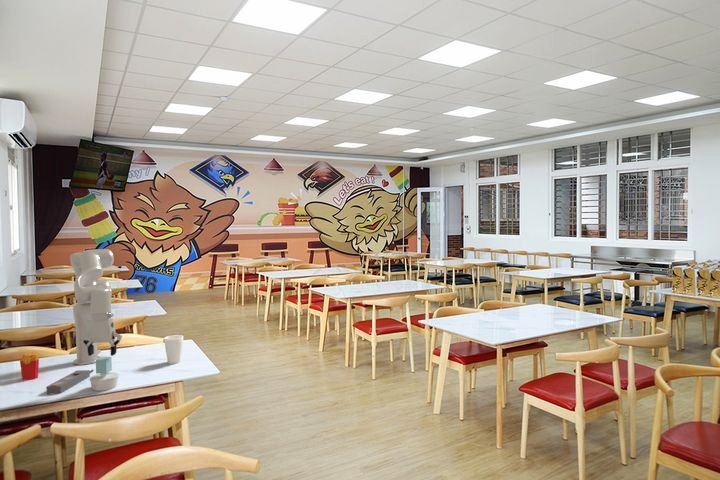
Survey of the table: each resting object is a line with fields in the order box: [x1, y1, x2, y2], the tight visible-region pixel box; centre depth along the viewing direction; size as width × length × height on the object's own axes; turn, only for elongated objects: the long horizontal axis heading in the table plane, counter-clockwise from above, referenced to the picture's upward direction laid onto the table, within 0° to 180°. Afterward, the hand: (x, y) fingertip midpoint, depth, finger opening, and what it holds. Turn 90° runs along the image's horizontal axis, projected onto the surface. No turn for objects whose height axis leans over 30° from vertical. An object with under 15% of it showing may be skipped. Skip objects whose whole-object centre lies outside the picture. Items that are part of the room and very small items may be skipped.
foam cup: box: [163, 334, 184, 365], centre depth 245 cm, size 10×9×13 cm
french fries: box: [19, 351, 40, 381], centre depth 222 cm, size 8×4×12 cm, turn 86°
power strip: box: [45, 369, 95, 395], centre depth 217 cm, size 30×6×4 cm, turn 1°
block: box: [95, 356, 113, 377], centre depth 208 cm, size 4×4×8 cm
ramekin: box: [89, 371, 120, 392], centre depth 208 cm, size 11×11×5 cm
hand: (102, 354), depth 208 cm, fingers open, 9 cm apart
